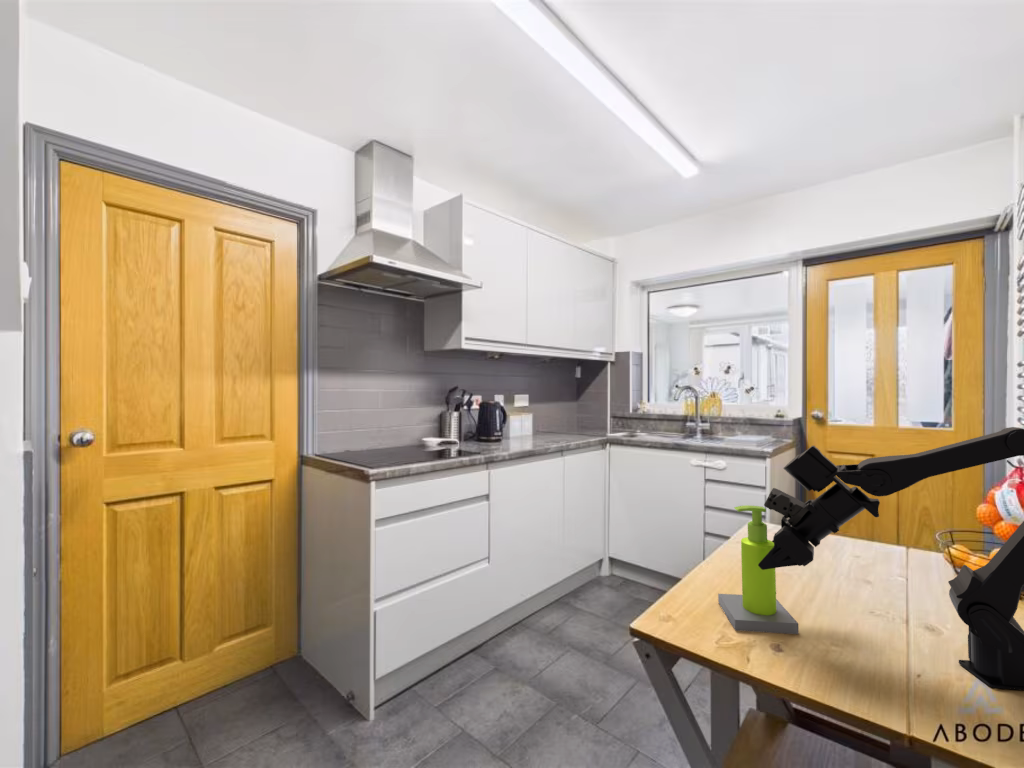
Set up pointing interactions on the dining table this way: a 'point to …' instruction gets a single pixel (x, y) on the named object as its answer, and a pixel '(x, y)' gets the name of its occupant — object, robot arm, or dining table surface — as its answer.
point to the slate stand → (756, 617)
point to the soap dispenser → (754, 579)
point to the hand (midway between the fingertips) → (763, 559)
